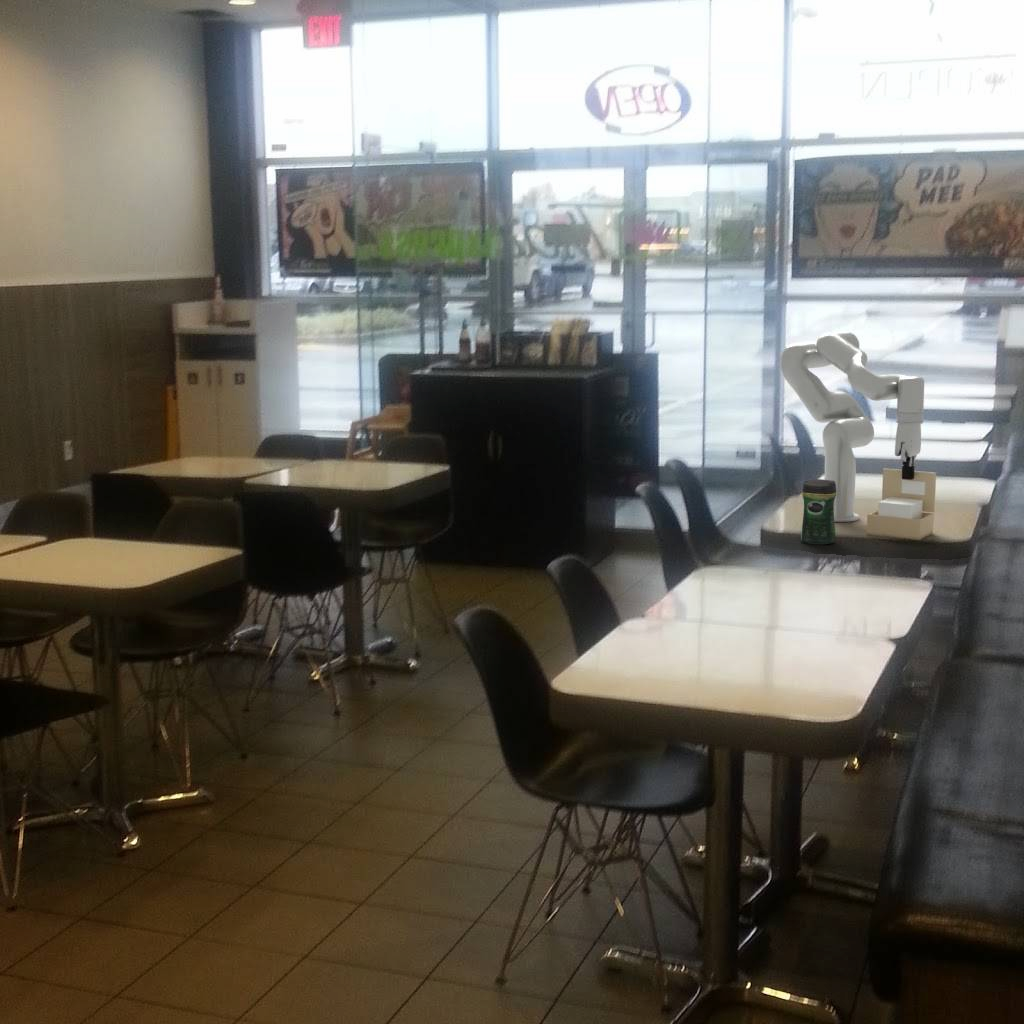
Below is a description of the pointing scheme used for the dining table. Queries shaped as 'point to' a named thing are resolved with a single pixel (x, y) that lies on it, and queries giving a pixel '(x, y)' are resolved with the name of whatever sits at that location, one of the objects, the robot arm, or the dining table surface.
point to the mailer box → (900, 519)
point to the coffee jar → (818, 511)
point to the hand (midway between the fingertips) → (907, 479)
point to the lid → (910, 487)
